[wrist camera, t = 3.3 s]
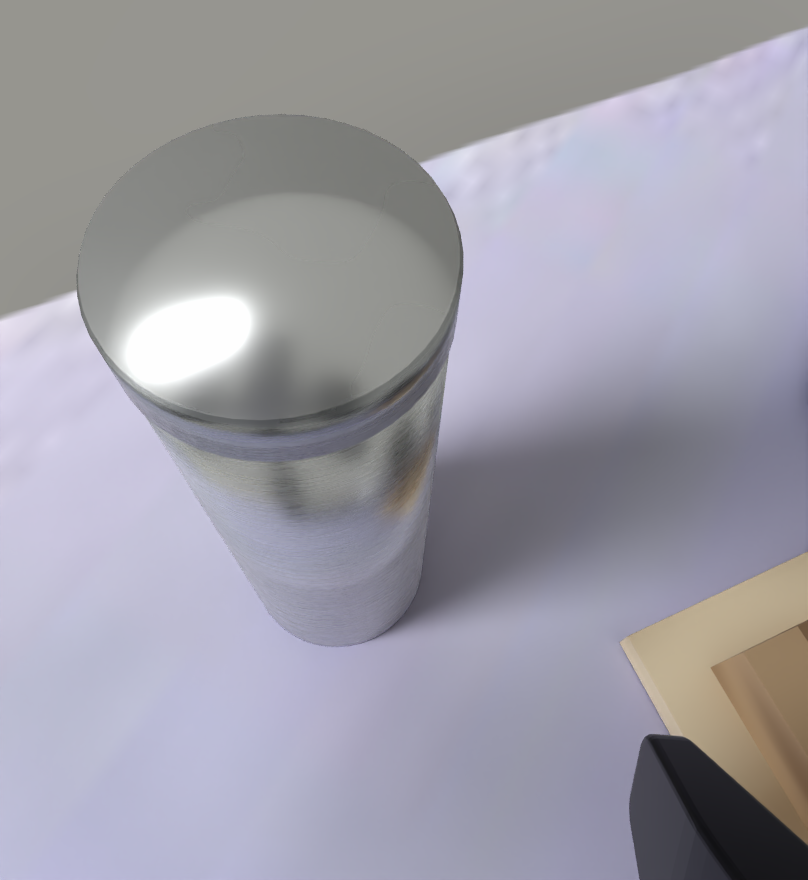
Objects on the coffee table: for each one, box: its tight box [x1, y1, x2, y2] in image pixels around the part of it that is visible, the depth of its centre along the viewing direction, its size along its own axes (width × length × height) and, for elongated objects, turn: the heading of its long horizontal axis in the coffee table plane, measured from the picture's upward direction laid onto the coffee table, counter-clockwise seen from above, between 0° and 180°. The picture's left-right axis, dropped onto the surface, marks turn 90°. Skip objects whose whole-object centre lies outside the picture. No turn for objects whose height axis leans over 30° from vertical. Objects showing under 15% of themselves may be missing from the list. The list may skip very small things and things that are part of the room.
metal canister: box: [77, 114, 463, 647], centre depth 15 cm, size 5×5×13 cm
